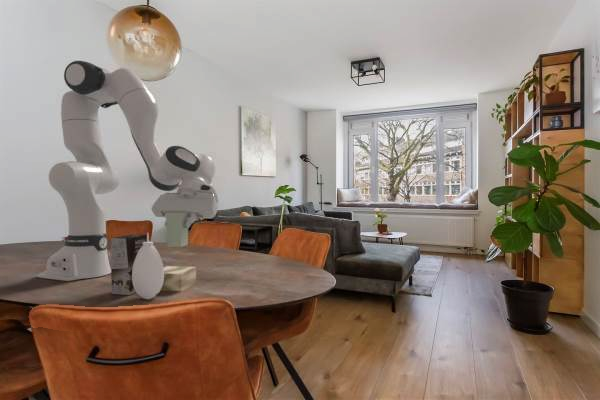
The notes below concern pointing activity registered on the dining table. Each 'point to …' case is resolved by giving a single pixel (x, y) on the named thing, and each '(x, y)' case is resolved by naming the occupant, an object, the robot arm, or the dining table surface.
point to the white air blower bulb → (148, 271)
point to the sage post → (177, 229)
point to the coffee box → (124, 262)
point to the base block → (178, 278)
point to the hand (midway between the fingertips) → (176, 226)
